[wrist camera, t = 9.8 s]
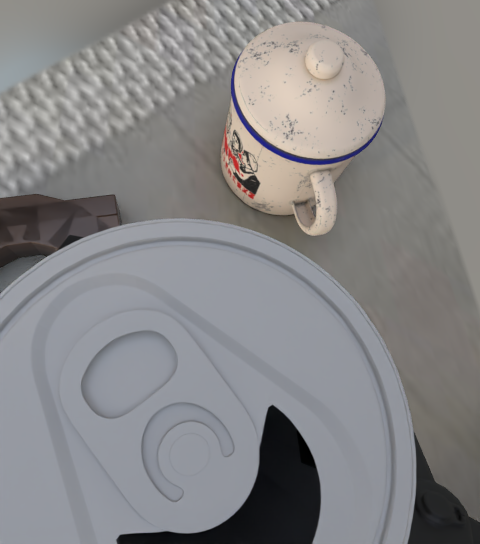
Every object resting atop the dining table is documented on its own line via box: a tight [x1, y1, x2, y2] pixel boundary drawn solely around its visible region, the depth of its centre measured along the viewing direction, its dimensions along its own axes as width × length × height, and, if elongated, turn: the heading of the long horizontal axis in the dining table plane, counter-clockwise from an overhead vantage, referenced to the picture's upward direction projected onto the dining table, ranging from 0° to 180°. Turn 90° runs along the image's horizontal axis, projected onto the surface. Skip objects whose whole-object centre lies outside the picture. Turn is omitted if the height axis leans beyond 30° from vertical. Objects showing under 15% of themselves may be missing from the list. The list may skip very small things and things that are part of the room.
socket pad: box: [0, 194, 121, 267], centre depth 28 cm, size 13×13×2 cm
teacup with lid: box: [220, 22, 385, 236], centre depth 28 cm, size 12×9×12 cm
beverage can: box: [0, 218, 416, 544], centre depth 11 cm, size 6×6×12 cm
